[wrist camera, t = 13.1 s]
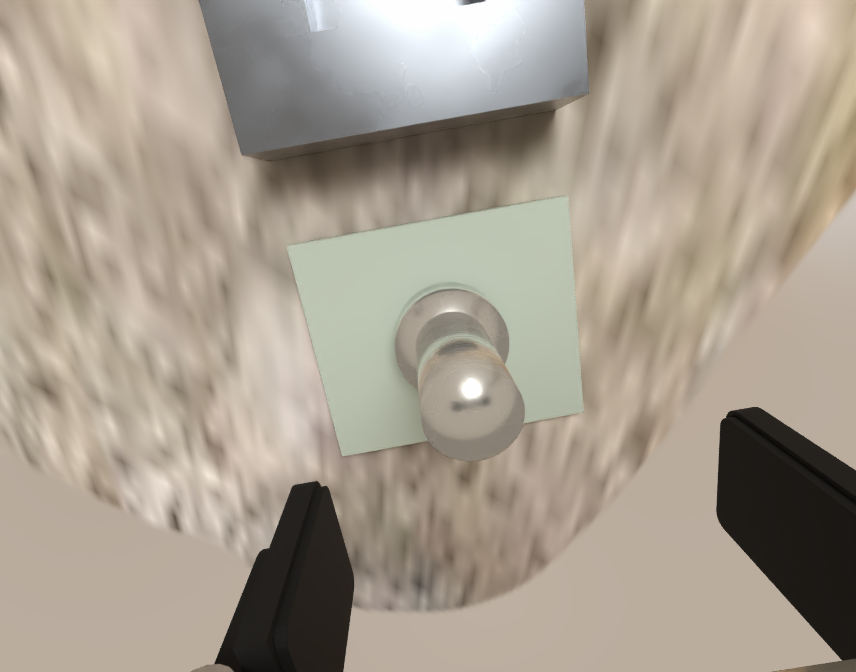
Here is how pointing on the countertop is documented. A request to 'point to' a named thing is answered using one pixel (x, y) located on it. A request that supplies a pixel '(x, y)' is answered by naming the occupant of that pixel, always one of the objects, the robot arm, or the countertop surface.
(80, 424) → the countertop surface
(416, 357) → the grey rounded knob
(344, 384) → the mat
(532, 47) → the housing
